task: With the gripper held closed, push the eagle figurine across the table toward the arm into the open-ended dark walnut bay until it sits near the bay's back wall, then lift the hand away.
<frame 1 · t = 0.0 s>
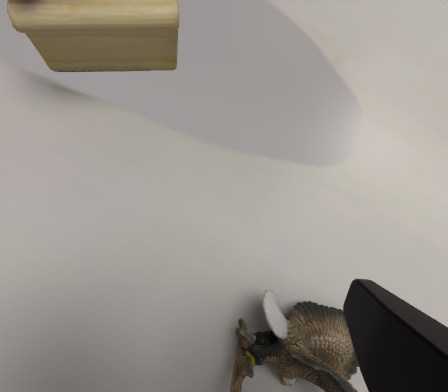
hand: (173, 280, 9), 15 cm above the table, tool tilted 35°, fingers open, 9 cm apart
eagle figurine: (292, 348, 24), on the table
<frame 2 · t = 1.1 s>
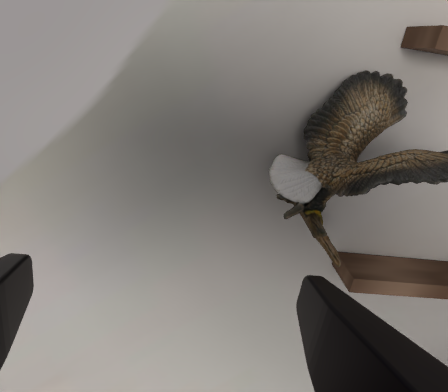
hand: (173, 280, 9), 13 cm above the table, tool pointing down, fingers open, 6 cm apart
eagle figurine: (338, 146, 22), on the table
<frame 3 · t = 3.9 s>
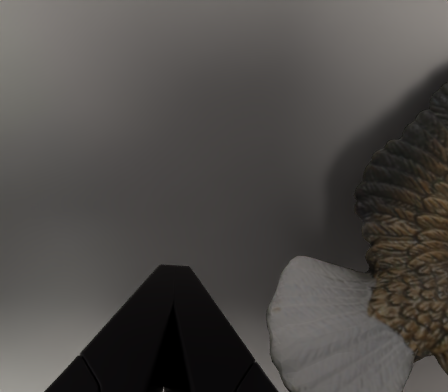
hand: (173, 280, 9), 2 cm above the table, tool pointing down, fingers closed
eagle figurine: (415, 210, 10), on the table, touching gripper
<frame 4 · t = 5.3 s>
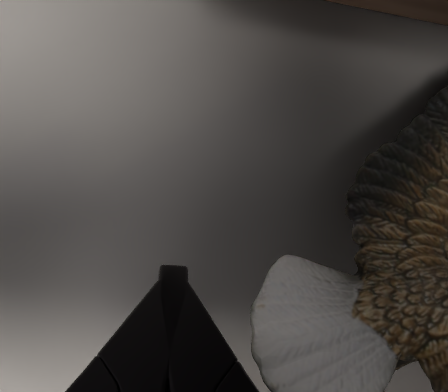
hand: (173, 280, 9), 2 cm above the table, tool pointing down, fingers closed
walnut bay: (423, 273, 11), on the table
eagle figurine: (411, 216, 10), on the table, touching gripper, walnut bay
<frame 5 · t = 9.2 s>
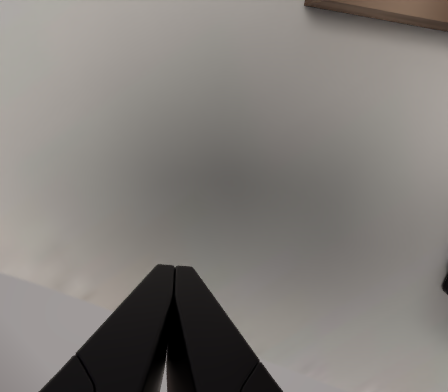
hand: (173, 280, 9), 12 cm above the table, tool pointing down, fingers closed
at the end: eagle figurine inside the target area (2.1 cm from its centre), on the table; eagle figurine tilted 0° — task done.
